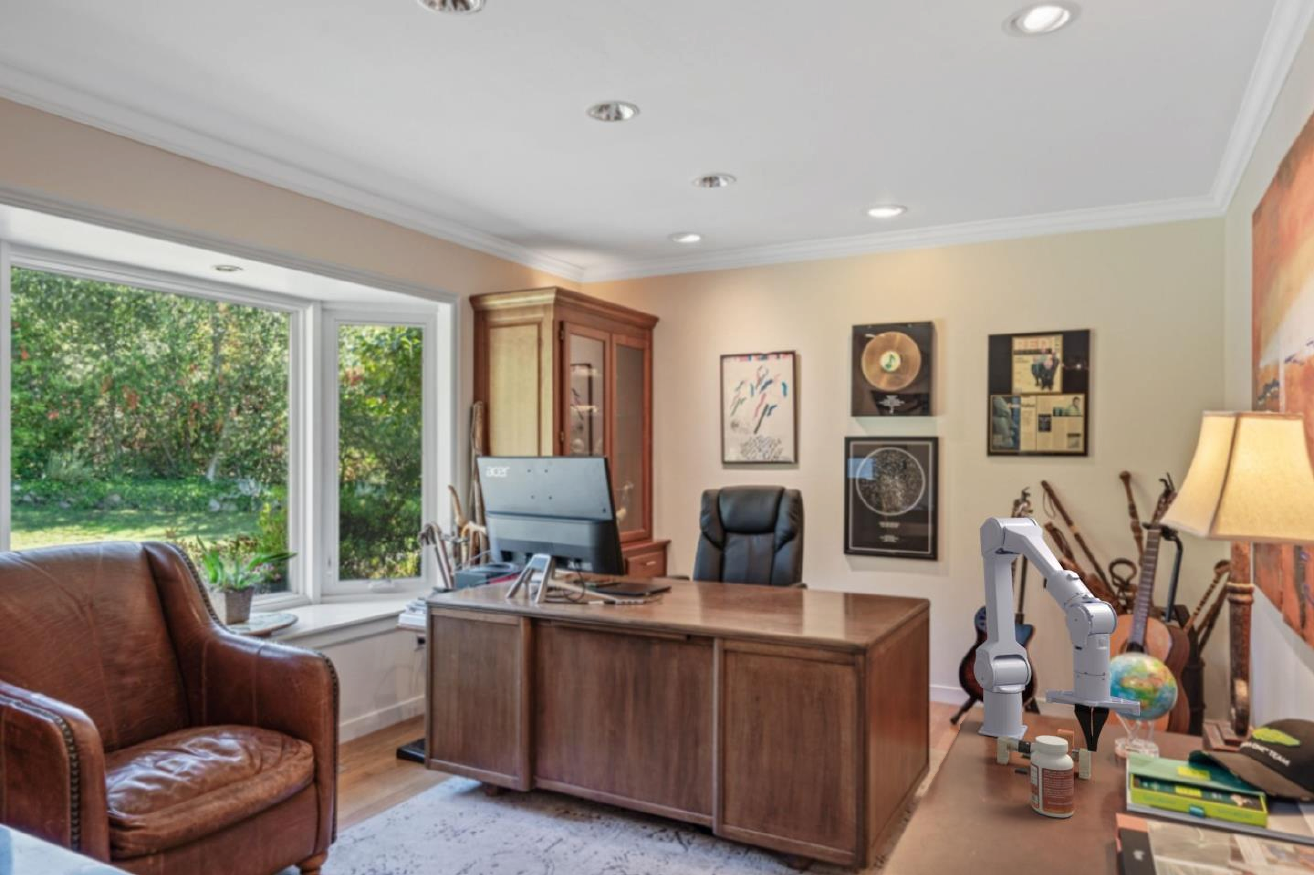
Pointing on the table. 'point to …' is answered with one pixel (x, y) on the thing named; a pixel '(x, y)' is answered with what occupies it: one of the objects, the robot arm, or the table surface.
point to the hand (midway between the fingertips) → (1092, 749)
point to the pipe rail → (1028, 748)
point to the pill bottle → (1052, 777)
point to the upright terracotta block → (1069, 738)
